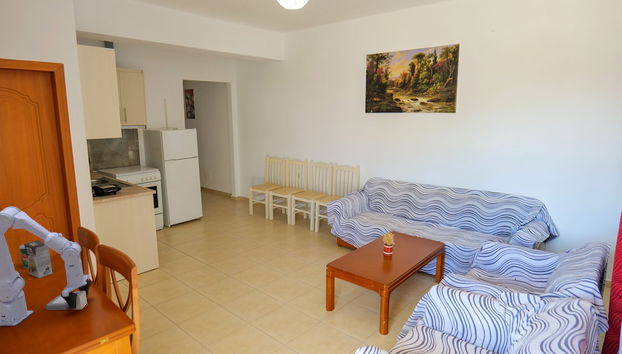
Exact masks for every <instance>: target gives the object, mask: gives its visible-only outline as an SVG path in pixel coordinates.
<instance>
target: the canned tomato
mask: <svg viewBox="0 0 622 354" xmlns="http://www.w3.org/2000/svg"><path fill="white" fill-rule="evenodd" d="M18 248H19V254H20V259H21V264H22V268H23V269H29V268H28V262H27V257H26V251H25V246H24V244H21V245H19V247H18Z"/></svg>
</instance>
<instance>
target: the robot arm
mask: <svg viewBox="0 0 622 354" xmlns="http://www.w3.org/2000/svg"><path fill="white" fill-rule="evenodd" d="M9 228H11V229H12V230H17V229H24V230H25V231H27V232H29V233H30V234H33V235H34V236H36V237H38V238H39V239H42V240H43V242H44V244H45V245H46V246H48V247H49V249H51V250H52V251H54V252H56V254H57V253H58V254H59V255H60V257H61V259H62V260H63V261H64V268H65V273H66V274H65V277H66V282H67V284H66V286H65V287H64V288H63V290H62V291H61V294H60V295H61V297H62V298H63V299H64V300H65V301H66V302H67V304H68V305H69V309H70V310H77V309H76V298H77V294H78V293H74V292H75V291H76V289H78V291H85V292H86V299H88V297H89V291H90V287H91V284H92V280H90V274H84V271H83V264H82V259H81V251H82V247H81V245H80V244H79V243H78V242H73V241H70V240H68V239H67V238H66V237H64V236H63V234H62V233H60V232H59V233H58V232H51V231H49V230H48V229H47V228H45V227H44V226H42V225H41V224H40V223H38V222H37V221H35V219H33V218H31V217H30V216H29V215H28V214H27V213H26V212H24V211H22V210H20V208H18V207H16V206H8V207H7V206H6V207H5V208H3V209H2V210H1V211H0V326H17V325H18V324H20V323H21V322H22V321H23V320H25V319H26V318H28V317H30V315H31V314H33V313H34V310H28V307H27V303H26V302H27V301H26V297H25V292H24V290H23V288H24V287H25V284H26V282H25V279H24V278H23V277H22V276H21V275H20V273H19V272H18V271H17V270H16V269H15V266H14V263H13V259H12V255H11V253H10V249H9V244H8V243H7V240H6V239H7V238H6V237H5V233H6V232H7V231H8V230H9Z"/></svg>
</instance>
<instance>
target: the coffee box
mask: <svg viewBox="0 0 622 354" xmlns="http://www.w3.org/2000/svg"><path fill="white" fill-rule="evenodd" d="M23 245H24V246H25V251H26V257H27V262H28V268H27V269H28V274H29V275H30V276H33V277H36V278H38V279H40V278H43V277H47V276H49V275H52V274H53V269H52V261H51V254H50V248H49V247H48V246H46V245H45V244H44V240H43V241H42V240H40V239H37V240H34V241H29V242H26V243H24V244H23Z"/></svg>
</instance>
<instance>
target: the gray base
mask: <svg viewBox="0 0 622 354" xmlns="http://www.w3.org/2000/svg"><path fill="white" fill-rule="evenodd" d="M45 308H46V311H66V310H68V309H70V307H69V305H68V304H67V302H66V301H65V300H64V299H63V298H62V297H61V294H59V295H57V296H56V297H55V298H54V299H52V300H51V301H49V302H48V303H46V305H45Z"/></svg>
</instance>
